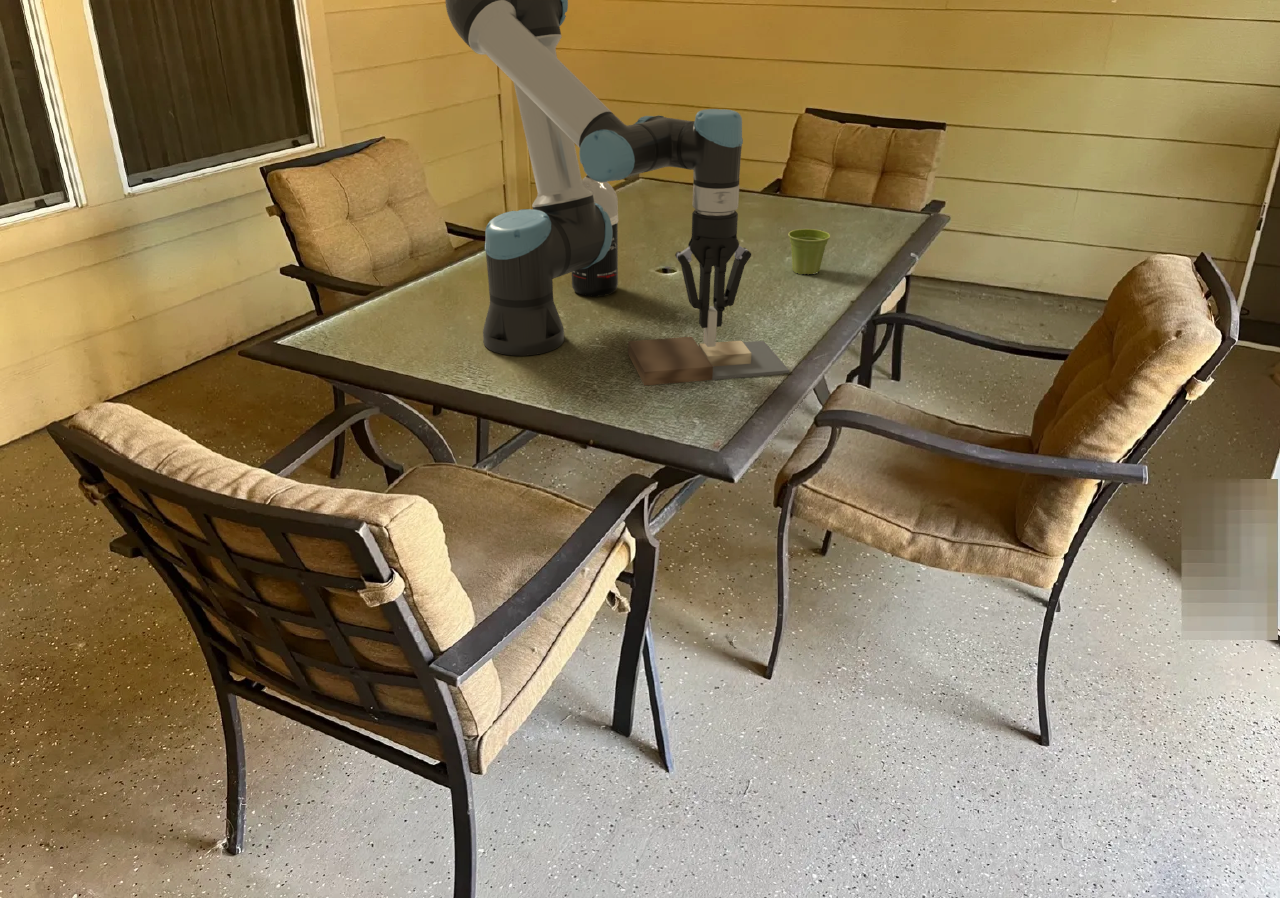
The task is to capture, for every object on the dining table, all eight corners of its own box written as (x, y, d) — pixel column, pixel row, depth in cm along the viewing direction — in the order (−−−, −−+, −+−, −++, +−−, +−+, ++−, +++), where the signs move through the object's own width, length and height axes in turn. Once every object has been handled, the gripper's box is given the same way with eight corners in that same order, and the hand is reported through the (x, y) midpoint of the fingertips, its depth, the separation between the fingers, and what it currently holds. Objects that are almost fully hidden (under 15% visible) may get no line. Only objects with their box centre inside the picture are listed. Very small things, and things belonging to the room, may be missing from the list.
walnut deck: (644, 385, 155) (644, 372, 153) (627, 353, 167) (628, 341, 165) (712, 379, 157) (712, 366, 156) (691, 349, 169) (691, 336, 168)
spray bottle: (628, 290, 198) (628, 172, 186) (594, 301, 191) (592, 180, 179) (595, 279, 204) (593, 165, 192) (561, 290, 197) (557, 172, 185)
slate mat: (712, 379, 157) (712, 376, 157) (691, 349, 169) (691, 346, 169) (789, 373, 159) (789, 370, 159) (763, 343, 171) (763, 340, 171)
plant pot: (808, 280, 204) (812, 242, 200) (776, 270, 211) (779, 233, 206) (834, 272, 210) (838, 235, 206) (802, 262, 216) (806, 226, 212)
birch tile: (707, 366, 160) (707, 356, 159) (698, 353, 165) (698, 343, 164) (750, 363, 162) (751, 353, 161) (740, 350, 167) (741, 340, 166)
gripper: (682, 217, 145) (678, 354, 157) (760, 213, 148) (751, 349, 159) (671, 206, 152) (668, 338, 163) (746, 202, 154) (738, 333, 165)
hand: (709, 343), depth 161 cm, fingers closed
